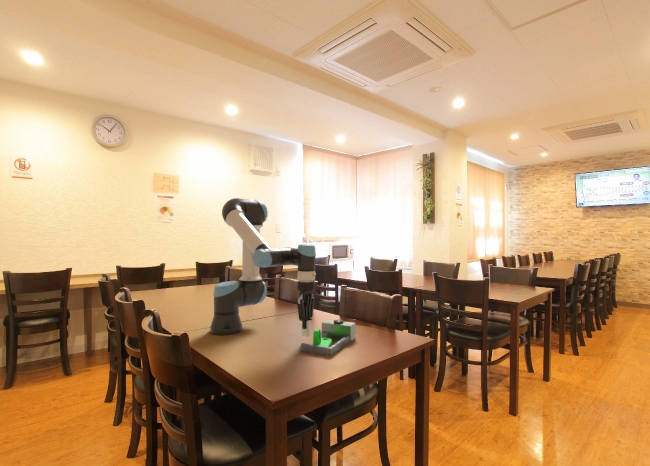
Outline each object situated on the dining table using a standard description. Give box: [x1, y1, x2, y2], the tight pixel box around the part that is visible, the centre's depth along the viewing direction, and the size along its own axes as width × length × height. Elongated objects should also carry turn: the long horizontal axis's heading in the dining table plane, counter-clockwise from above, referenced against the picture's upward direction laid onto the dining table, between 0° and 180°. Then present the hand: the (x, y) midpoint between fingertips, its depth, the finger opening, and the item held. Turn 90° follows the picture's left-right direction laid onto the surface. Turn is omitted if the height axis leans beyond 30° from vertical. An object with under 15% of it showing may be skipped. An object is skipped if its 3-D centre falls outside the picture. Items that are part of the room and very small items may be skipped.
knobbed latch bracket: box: [300, 319, 357, 357], centre depth 144 cm, size 14×25×8 cm, turn 154°
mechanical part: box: [312, 328, 333, 347], centre depth 142 cm, size 12×6×8 cm, turn 168°
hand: (305, 335), depth 145 cm, fingers closed
